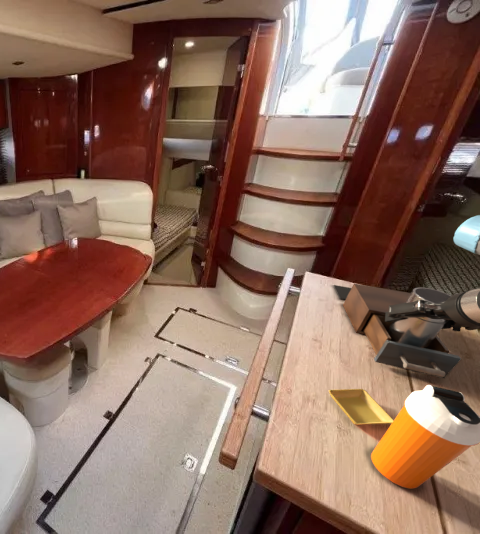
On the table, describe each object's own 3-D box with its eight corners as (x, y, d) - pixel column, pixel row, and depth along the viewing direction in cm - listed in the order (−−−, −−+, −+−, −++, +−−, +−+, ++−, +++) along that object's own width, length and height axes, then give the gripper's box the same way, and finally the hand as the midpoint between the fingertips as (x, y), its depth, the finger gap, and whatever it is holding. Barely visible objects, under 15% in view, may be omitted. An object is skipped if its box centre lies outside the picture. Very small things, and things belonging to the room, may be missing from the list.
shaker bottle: (381, 487, 56) (443, 422, 46) (355, 440, 64) (404, 375, 54) (440, 500, 54) (518, 435, 44) (406, 450, 62) (467, 385, 52)
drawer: (454, 392, 72) (472, 371, 69) (381, 373, 77) (394, 354, 74) (419, 342, 86) (432, 323, 83) (359, 330, 91) (369, 311, 88)
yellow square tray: (392, 428, 66) (397, 422, 65) (352, 429, 66) (356, 424, 65) (359, 394, 73) (363, 388, 72) (324, 395, 73) (327, 389, 72)
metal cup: (413, 341, 84) (449, 291, 76) (427, 362, 78) (468, 309, 69) (376, 334, 87) (407, 284, 79) (387, 353, 81) (421, 301, 72)
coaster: (363, 291, 110) (364, 290, 109) (372, 305, 103) (372, 304, 102) (333, 286, 113) (333, 284, 113) (339, 299, 106) (340, 298, 106)
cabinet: (420, 346, 86) (438, 322, 82) (355, 332, 91) (369, 309, 87) (399, 315, 98) (413, 293, 93) (342, 305, 103) (353, 283, 99)
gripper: (414, 313, 64) (358, 324, 85) (561, 340, 57) (460, 345, 77) (416, 279, 66) (360, 299, 87) (559, 301, 58) (461, 317, 79)
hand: (408, 321), depth 82 cm, fingers closed on metal cup, 8 cm apart
